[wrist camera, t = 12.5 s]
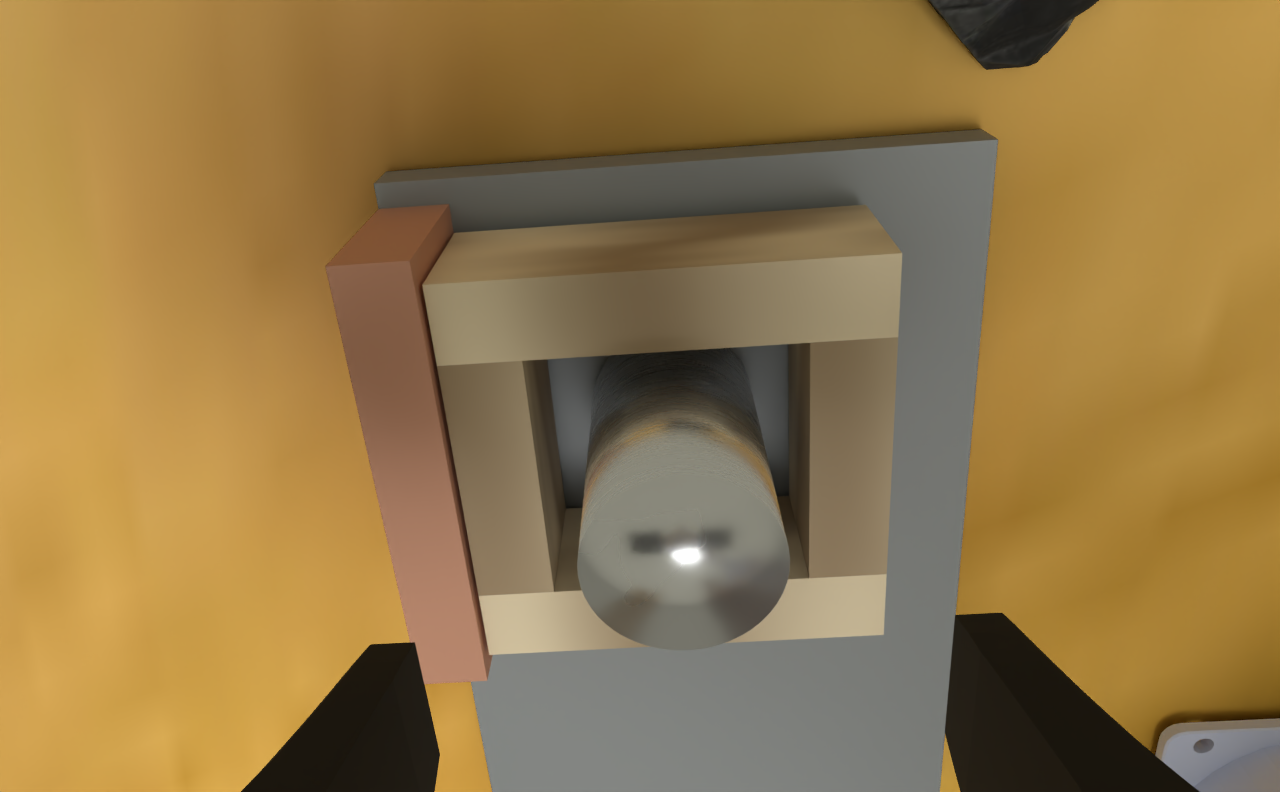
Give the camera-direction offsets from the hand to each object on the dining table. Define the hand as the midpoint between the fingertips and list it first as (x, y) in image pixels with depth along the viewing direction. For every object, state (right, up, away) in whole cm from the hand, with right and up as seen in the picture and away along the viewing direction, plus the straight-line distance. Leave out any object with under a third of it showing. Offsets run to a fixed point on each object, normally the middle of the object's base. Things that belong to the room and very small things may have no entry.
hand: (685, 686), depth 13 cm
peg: (0, +4, +8) cm, 9 cm away
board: (+1, +1, +10) cm, 11 cm away
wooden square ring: (0, +4, +8) cm, 8 cm away
